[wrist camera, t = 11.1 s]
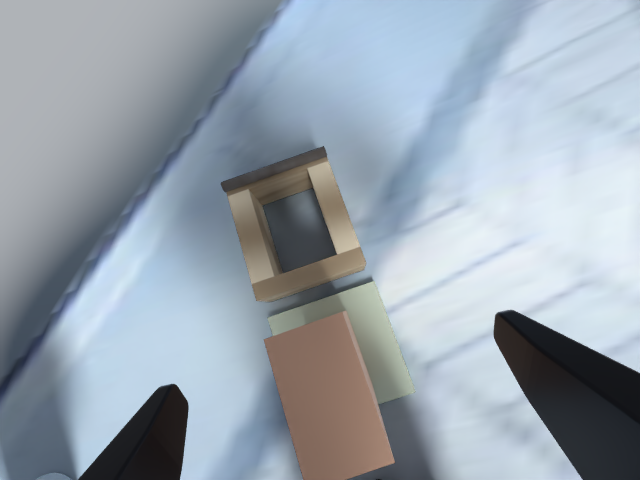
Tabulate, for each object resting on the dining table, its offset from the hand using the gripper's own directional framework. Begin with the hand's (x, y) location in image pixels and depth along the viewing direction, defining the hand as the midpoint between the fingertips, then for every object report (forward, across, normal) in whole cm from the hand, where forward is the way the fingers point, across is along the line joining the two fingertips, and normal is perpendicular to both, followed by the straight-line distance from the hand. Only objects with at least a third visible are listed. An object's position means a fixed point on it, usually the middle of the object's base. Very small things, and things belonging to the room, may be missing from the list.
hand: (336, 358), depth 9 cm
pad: (+9, 0, +10) cm, 14 cm away
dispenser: (+15, +1, +4) cm, 16 cm away
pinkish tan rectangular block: (+9, 0, +10) cm, 14 cm away
